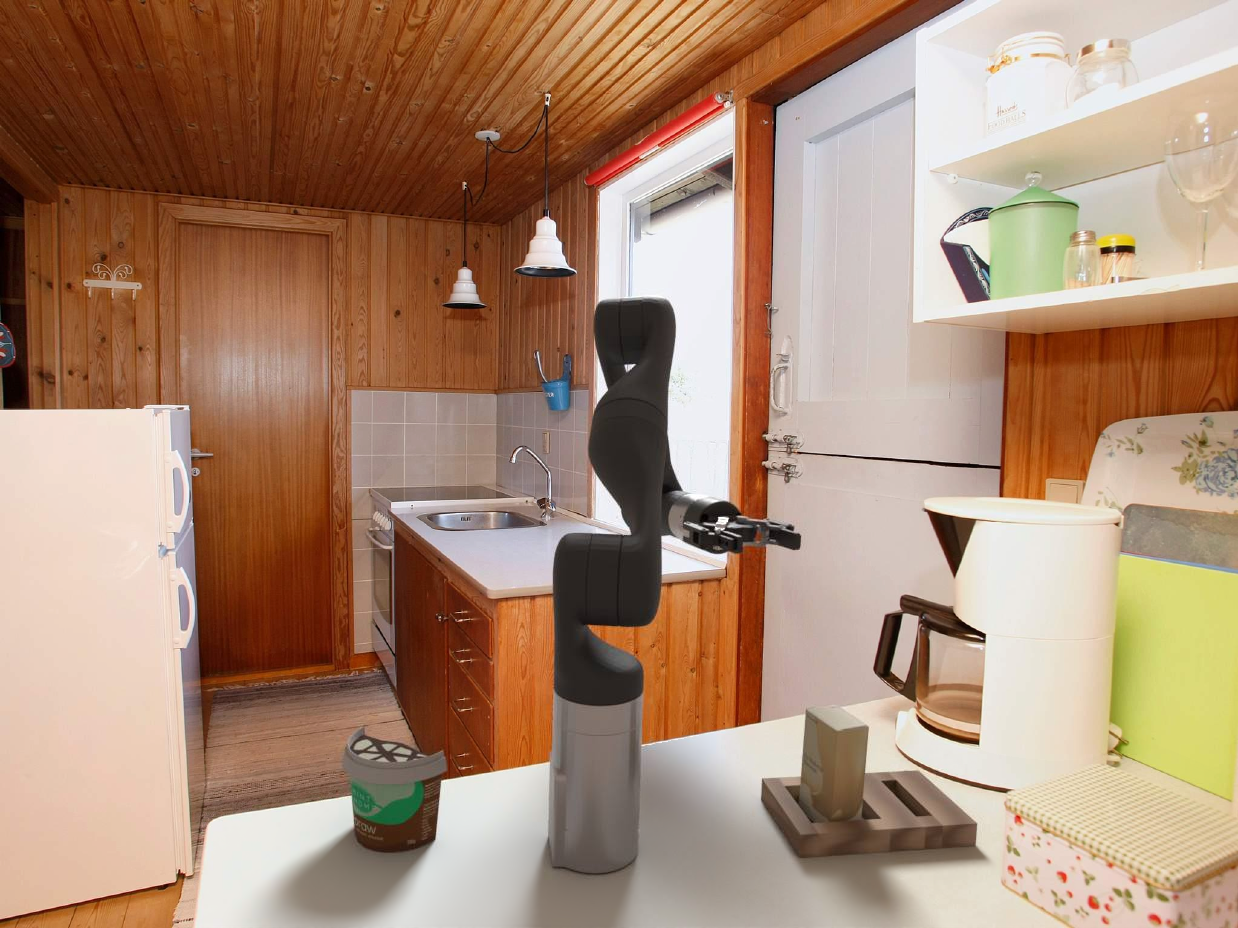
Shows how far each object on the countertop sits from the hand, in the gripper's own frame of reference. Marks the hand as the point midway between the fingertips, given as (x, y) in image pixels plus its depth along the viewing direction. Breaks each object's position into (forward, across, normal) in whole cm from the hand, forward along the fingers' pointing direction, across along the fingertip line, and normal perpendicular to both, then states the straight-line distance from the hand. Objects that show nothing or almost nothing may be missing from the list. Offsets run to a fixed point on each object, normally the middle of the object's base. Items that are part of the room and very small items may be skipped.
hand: (770, 543), depth 99 cm
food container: (-1, -46, +30) cm, 55 cm away
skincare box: (+13, +1, +29) cm, 32 cm away
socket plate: (+14, +4, +29) cm, 33 cm away
